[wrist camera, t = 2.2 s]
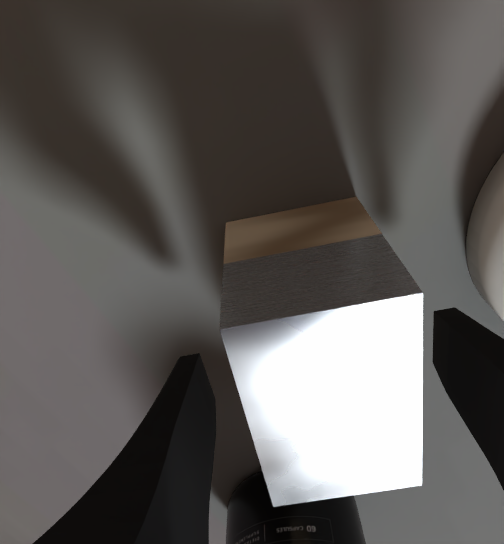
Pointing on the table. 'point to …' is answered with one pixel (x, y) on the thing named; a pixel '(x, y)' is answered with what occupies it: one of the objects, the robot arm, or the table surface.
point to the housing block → (324, 351)
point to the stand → (488, 240)
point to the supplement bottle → (289, 518)
